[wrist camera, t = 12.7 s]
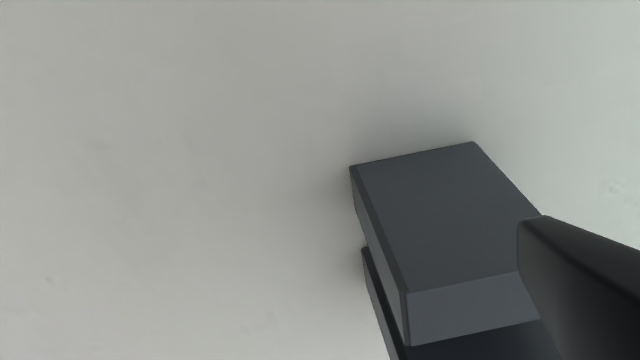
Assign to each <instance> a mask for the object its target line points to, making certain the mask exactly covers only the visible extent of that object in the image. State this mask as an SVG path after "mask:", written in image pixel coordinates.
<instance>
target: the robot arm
mask: <svg viewBox="0 0 640 360" xmlns="http://www.w3.org/2000/svg"><path fill="white" fill-rule="evenodd" d="M517 267H518V271H519V274H520V277H521V279H522V281H523V283H524V285H525V287H526V289H527V291H528V293H529V295H530V297H531V299H532V301H533V303H534V305H535V307H536V309H537V311H538V313H539V315H540V317H541V319H542V321H543V323H544V325H545V327H546V329H547V331H548V333H549V335H550V337H551V339H552V341H553V343H554V345H555V347H556V349H557V351H558V353H559V355H560V357H561V358H562V360H640V251H639V250H637V249H634V248H632V247H629V246H626V245H624V244H621V243H618V242H616V241H613V240H610V239H608V238H605V237H603V236H600V235H597V234H595V233H592V232H589V231H587V230H584V229H581V228H579V227H576V226H573V225H571V224H568V223H566V222H563V221H560V220H558V219H555V218H552V217H550V216H546V215H540V216H536V217H531V218H527V219H523V220H521V221H520V222H519V223H518V226H517Z"/></svg>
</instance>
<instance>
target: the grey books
mask: <svg viewBox="0 0 640 360" xmlns="http://www.w3.org/2000/svg"><path fill="white" fill-rule="evenodd" d="M349 170H350V177H351V184H352V191H353V198H354V204H355V210H356V213H357V216H358V219H359V221H360V224H361V227H362V230H363V232H364V235H365V238H366V241H367V243H368V246H369V247H365V248H363V249H361V253H362V259H363V266H364V273H365V280H366V286H367V289H368V292H369V295H370V299H371V302H372V305H373V308H374V311H375V314H376V317H377V320H378V323H379V326H380V329H381V333H382V336H383V339H384V342H385V345H386V348H387V351H388V354H389V357H390V360H562V358H561V357H560V355H559V353H558V351H557V349H556V347H555V345H554V343H553V341H552V339H551V337H550V335H549V333H548V331H547V329H546V327H545V325H544V323H543V321H542V319H541V317H540V315H539V313H538V311H537V309H536V307H535V305H534V303H533V301H532V299H531V297H530V295H529V293H528V291H527V289H526V287H525V285H524V283H523V281H522V279H521V277H520V274H519V271H518V267H517V226H518V223H519V222H520V221H521V220H523V219H527V218H531V217H536V216H540V215H541V213H540V212H539V211H538V210H537V209H536V208H535V207H534V206H533V205H532V204H531V203H530V202H529V200H528V199H527V198H526V197H525V196H524V195H523V194H522V193H521V192H520V191H519V190H518V188H517V187H516V186H515V185H514V184H513V183H512V182H511V181H510V180H509V179H508V178H507V177H506V175H505V174H504V173H503V172H502V171H501V170H500V169H499V168H498V167H497V166H496V165H495V163H494V162H493V161H492V160H491V159H490V158H489V157H488V156H487V155H486V154H485V153H484V152H483V150H482V149H481V148H480V147H479V146H478V145H477V144H476V143H475V142H470V143H465V144H459V145H454V146H449V147H444V148H439V149H434V150H429V151H424V152H419V153H414V154H409V155H404V156H399V157H394V158H389V159H384V160H379V161H374V162H369V163H364V164H359V165H354V166H351V167H349Z"/></svg>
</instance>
